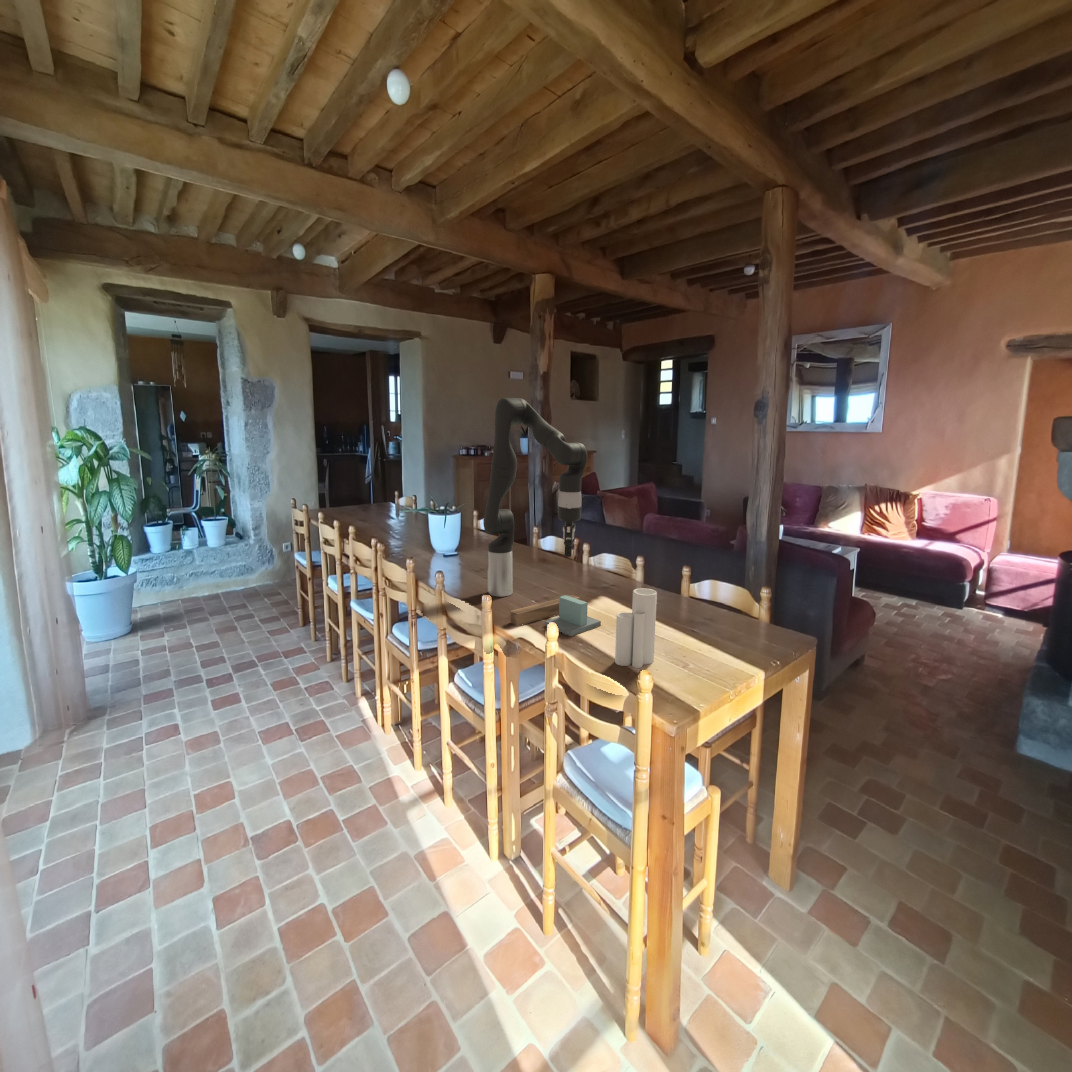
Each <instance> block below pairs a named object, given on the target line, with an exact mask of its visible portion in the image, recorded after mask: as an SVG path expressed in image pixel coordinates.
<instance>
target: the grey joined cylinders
mask: <svg viewBox="0 0 1072 1072" xmlns="http://www.w3.org/2000/svg"><path fill="white" fill-rule="evenodd" d="M657 597H658V592H657V591H656V590H654V589H653V588H652V589H651V588H644V587H642V588H635V589H633V590H632V609H631V612H627V611H626V612H625V611H624V612H623V611H622V612H618V613H616V618H615V619H616V621H615V623H616V624H615V625H616V626H615V627H616V628H615V654H614V655H615V657H614V660H615V661H614V663H615V664H616V665H618V666H623V667H624V666H625V667H627V666H632V667H633V668H635V669H639V668H643V665H650V664H653V663H654V657H655V655H654V654H655V640H656V639H655V638H656V637H655V635H656V620H657V619H656V618H657V601H658V600H657V599H658V598H657Z"/></svg>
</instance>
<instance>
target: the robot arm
mask: <svg viewBox="0 0 1072 1072" xmlns="http://www.w3.org/2000/svg"><path fill="white" fill-rule="evenodd" d="M513 425H514V426H516V425H517V426H518V425H523V426H525V427H527V428H529V429H530V430H531V433H532V436H533V438H534V439H535V441H536V442H537V443H538V444H539V445H540V446H542V447H543V448H545V450H547V451H548V452H549V453H550V455H551V456H552V458H553V459H554V460H555V462H557V463H558V464H559V465H562V466H568V467H567V470H566V471H564V472H562V473H561V474H560V476H559V491H558V505H557V506H558V507H557V518H558V520H560V521H564V522H565V523H563V526H562V532H563V533H562V534H563V536H562V537H563V544H564V557H566V558H567V557H568V558H570V557H572V550H573V540H574V539H575V531H576V524H575V523H574V522H576V521H580V520H581V519H582V501H583V500H582V479H583V475H584V471H585V468H586V465H587V460H588V450H587V448H586V446H585V445H584V444H583V443H581V442H567V441H566V440H567V439H566V436H565V435H564V434H563V433H562V432H561V431H560V430H558V429H557V428H555V427H554V426H552V425H551V424H550V423H548V422H547V421H546V420H544V418H543V417H542V416H541V415H540V414H539V413H538V412H537V411H536V410H535V409H534V408H533V407H532V406H531V404H530V403H528V402H527V400H525V399H524V398H522V397H521V398H520V397H502V398H500V399H498V401H497V404H496V406H495V412H494V440H493V452H492V453H493V454H492V460H491V465H490V467H491V468H490V479H489V488H488V494H487V499H486V505H485V508H484V515H483V519H482V520H483V523H482V524H483V529H484V531H485V533H486V534H487V535H498V536H497V537H496V538H495V539H494V540H492V541H491V542H489V543H488V548H487V549H488V553H487V554H488V568H487V592H488V594H489V595H490V596H491V597H498V598H499V597H501V598H502V597H509V596H511V595H513V592H514V591H513V585H514V584H513V583H514V582H513V581H514V580H513V546H514V542H515V541H514V539H515V518H514V513H513V512H512V511H511V510H510V509H509V508H502V509H501V508H500V506H501V504H502V501H503V499H504V497H505V495H506V494H507V493H508V491H509V490H510V489H511V487H512V485H513V484H514V483H515V480H516V478H517V477H516V476H517V470H518V469H517V468H518V459H517V456H516V455H517V454H516V452H515V450H514V447H513V446H512V443H511V439H510V438H511V436H510V435H511V426H513Z"/></svg>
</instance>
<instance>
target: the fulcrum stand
mask: <svg viewBox="0 0 1072 1072" xmlns="http://www.w3.org/2000/svg"><path fill="white" fill-rule="evenodd" d="M588 605H589V603H588V602H586V601H584V600H581V599H580V600H579V599H576V598H573V597H570V595H568V594H564V595H562V596H561V595H560V596H559V615H558V616H557V617H554V618H551V619H547V620H545V621H544V626H545V627H547V624H549V622H555V623H556V624H557V626H558V628H559V631H558V633H561V632H562V633H561V634H564V635H566V636H569V637H573V636H576V635H579V634H581V633H584V632H587V631H590V630H593V629H595V627H596V628H599V627H601V622H602V621H601V620H600V619H596V618H593V617H590V616H588ZM592 628H593V629H592ZM586 630H587V631H586Z"/></svg>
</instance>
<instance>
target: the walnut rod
mask: <svg viewBox="0 0 1072 1072" xmlns="http://www.w3.org/2000/svg"><path fill="white" fill-rule="evenodd" d="M569 596H570V597H573V598H576V599H579V600H581V598H580V596H576V595H574V594H570V595H569ZM557 614H559V598H555V599H551V600H547V601H544V602H539V603H536V604H532V605H529V606H524V607H520V608H517V609H512V610H510V616H509V617H510V619H509V621H510V624H512V625H514V626H516V627H520V626H523V625H522V624H524V625H527V624H530V623H534V622H538V621H541V620H544V619H548V618H551V616H552V617H555V616H558V615H557ZM554 615H555V616H554ZM519 625H520V626H519Z"/></svg>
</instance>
